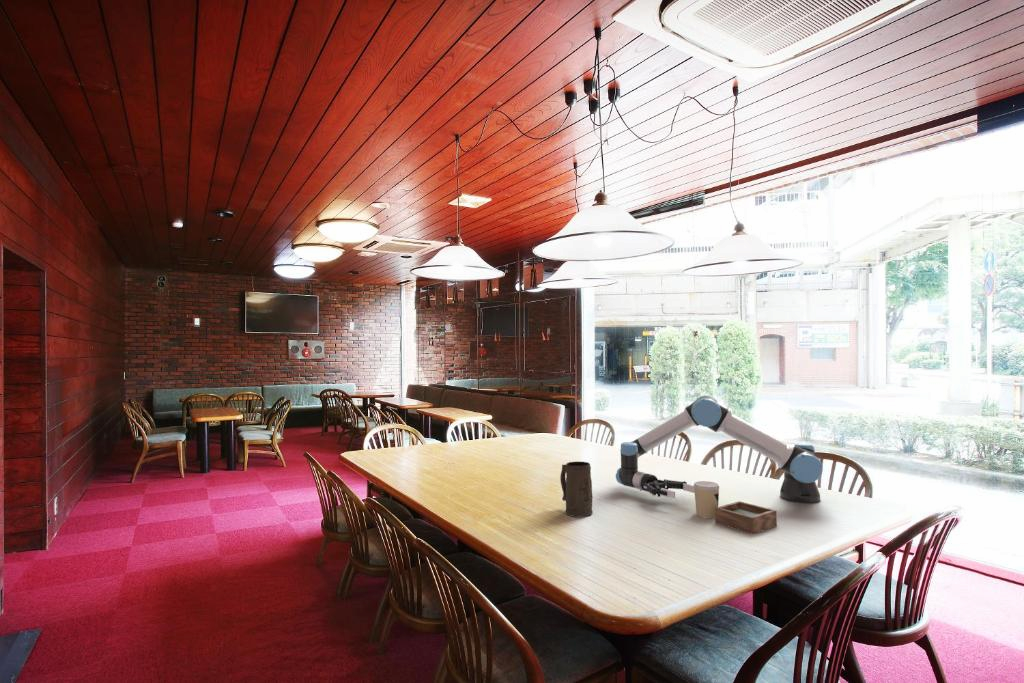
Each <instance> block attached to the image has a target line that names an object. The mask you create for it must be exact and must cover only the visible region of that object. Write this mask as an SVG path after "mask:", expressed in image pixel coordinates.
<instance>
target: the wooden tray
mask: <svg viewBox="0 0 1024 683" xmlns="http://www.w3.org/2000/svg"><path fill="white" fill-rule="evenodd" d="M714 521H715V524H718V523H719V524H718V525H721V524H722V525H721V526H724V525H725V527H728V526H729V528H731V527H732V529H734V528H735V529H736V530H738V529H739V530H738V531H741V530H742V531H741V532H744V531H745V532H744V533H748V532H749V534H751V533H752V534H751V535H754V534H757V533H760V532H763V531H766V530H768V528H769V529H771V527H772V528H774V526H775V527H777V524H778V523H777V522H778V519H777V510H776V509H771V508H768V507H764V506H759V505H755V504H751V503H748V502H744V501H740V500H739V501H735V502H732V503H729V504H728V503H727V504H725V505H721V506H718V507H716V508H715V518H714ZM735 529H734V530H735ZM765 529H766V530H765ZM762 530H763V531H762ZM759 531H760V532H759ZM756 532H757V533H756ZM753 533H754V534H753Z"/></svg>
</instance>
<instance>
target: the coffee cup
mask: <svg viewBox="0 0 1024 683" xmlns="http://www.w3.org/2000/svg"><path fill="white" fill-rule="evenodd" d="M693 486H694V492H695V493H694V501H695V511H696V515H697V516H698V517H700V516H701V518H703V517H706V518H705V519H715V518H714V517H715V508H716V507H719V499H720V498H719V497H720V496H719V495H720V486H719V484H718V483H716V482H713V481H705V480H703V481H701V480H700V481H696V482H694V484H693Z"/></svg>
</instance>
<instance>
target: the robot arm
mask: <svg viewBox="0 0 1024 683" xmlns="http://www.w3.org/2000/svg"><path fill="white" fill-rule="evenodd" d="M694 426H695V427H698V426H703V427H706V428H708V429H709V430H711V431H713V432H715V433H719V432H722V433H723V434H726V435H727V436H729V437H730V438H732V439H734V440H736V441H738V442H740V443H741V444H743V445H745V446H747V447H749V448H750V449H752V450H753V451H756V452H758V453H759V454H761V455H762V456H764V457H766V458H768V459H770V460H771V461H773V462H775V463H776V465H777V467H778V469H780V470H782V471H783V476H784V477H783V481H782V484H781V487H780V490H779V496H780V498H782V499H784V500H787V501H790V500H791V502H797V503H819V502H821V493H820V490H819V488H818V486H817V483H816V481H818V480H819V479H820V478H821V477H822V474H823V472H824V471H823V469H824V468H823V465H822V462H821V460H820V458H819V457H818V456H816V455H815V452H816V451H815V447H814V445H812V444H807V443H806V444H803V443H785V442H784V441H781V440H780V439H778V438H777V437H774V436H773V435H771V434H769V433H767V432H765V431H763V430H762V429H760V428H759V427H757V426H754V425H753V424H751V423H749V422H747V421H746V420H744V419H742V418H740V417H738V416H737V415H735V414H733V413H732V411H731V408H729V407H727V406H725V405H724V404H722V403H721V402H718V401H717V399H716V398H714V397H712V396H709V395H703V396H700V397H698V398H696V399H695V400H694V401H693V402H692V403H691V404H689V405H687V406H686V407H684V410H683V411H682V412H680V413H678V414H677V415H675V416H673V417H671V418H670V419H668V420H666V421H665V422H663V423H662V424H660V425H658V426H656V427H655V428H653V429H651V430H650V431H648V432H646V433H645V434H643V435H641V436H639V437H638V438H635V440H632V441H625V442H622V443H620V450H619V451H620V468H618V469H617V470H616V473H615V480H616V482H617V483H619V484H620V485H623V486H626V487H629V488H634V489H637V490H639V491H641V492H642V491H643V492H648V493H649V494H651V495H652V496H657V498H660V497H661V496H663V497H666V498H669V499H670V498H671V499H674V500H675V499H676V491H674V489H675V490H683V491H685V492H689V493H693V494H695V492H694V484H688V482H687V481H685V480H684V481H679V480H672V479H671V480H670V479H663V480H662V479H658V478H657V476H656V475H654V474H651V473H647V472H643V471H639V469H638V468H639V458H640V457H641V456H643V455H644V454H646V453H648V452H650V451H652V450H653V449H655V448H656V447H658V446H660V445H662V444H664V443H666V442H667V441H669V440H671V439H673V438H674V437H676V436H677V435H679V434H681V433H683V432H685V431H686V430H688V429H690V428H692V427H694ZM671 489H672V490H671Z"/></svg>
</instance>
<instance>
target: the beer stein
mask: <svg viewBox="0 0 1024 683" xmlns="http://www.w3.org/2000/svg"><path fill="white" fill-rule="evenodd" d="M591 469H592V468H591V464H590V462H587V461H569V462H567V463H566V464H561V473H560V477H559V480H560V485H561V490H562V494H563V496H562V498H561V499H562V502H565V511H564V512H566V513H567V514H569V515H573V516H587V517H590V516H591V514H593V511H594V510H593V481H592V480H593V479H592V473H591ZM566 513H565V514H566ZM567 514H566V515H567ZM569 515H568V516H569ZM589 515H590V516H589ZM573 516H572V517H573Z"/></svg>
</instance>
